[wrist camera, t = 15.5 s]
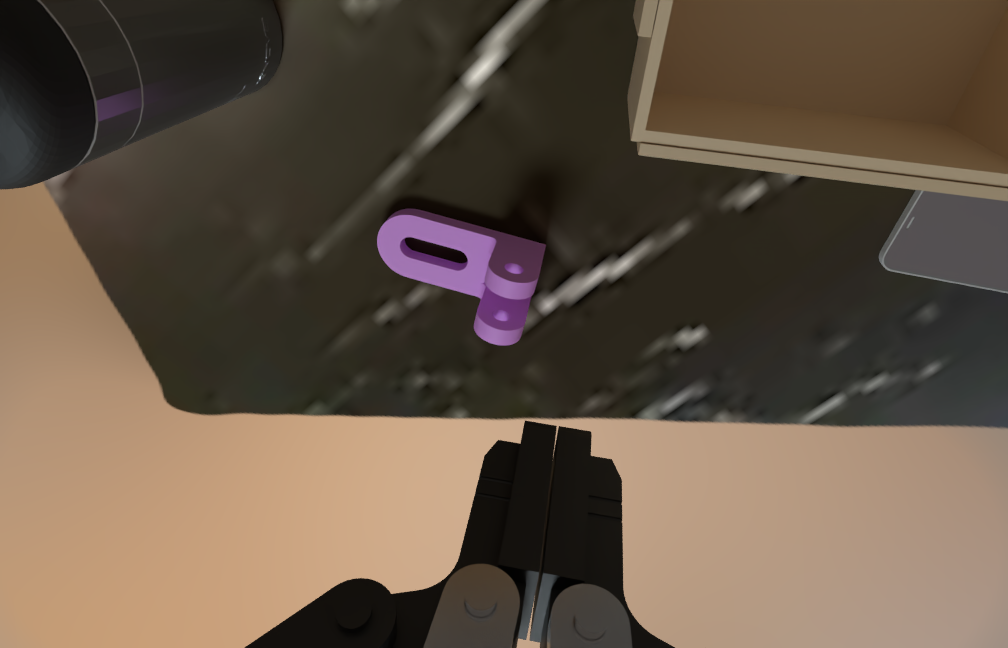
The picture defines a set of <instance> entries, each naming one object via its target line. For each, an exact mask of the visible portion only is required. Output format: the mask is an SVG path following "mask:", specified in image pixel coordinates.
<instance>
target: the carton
mask: <svg viewBox="0 0 1008 648" xmlns="http://www.w3.org/2000/svg"><path fill="white" fill-rule="evenodd" d="M633 18H634V22H635V26H636V30H637V34H638V36H639V38H638V43H637V48H636V54H635V59H634V64H633V69H632V75H631V80H630V85H629V90H628V96H627V99H628V111H629V123H630V135H631V141H637V149H638V155H642V156H650V157H658V158H666V159H674V160H682V161H690V162H698V163H706V164H714V165H722V166H730V167H738V168H746V169H754V170H762V171H770V172H778V173H786V174H794V175H802V176H810V177H818V178H826V179H834V180H842V181H850V182H858V183H866V184H874V185H882V186H890V187H898V188H906V189H914V190H922V191H930V192H938V193H946V194H954V195H962V196H970V197H978V198H986V199H994V200H1002V201H1008V0H636V3H635V8H634V14H633Z"/></svg>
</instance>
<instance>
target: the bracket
mask: <svg viewBox="0 0 1008 648" xmlns="http://www.w3.org/2000/svg"><path fill="white" fill-rule="evenodd" d="M406 237H412V238H416V239H420V240H423V241H427V242H431V243H434V244H438V245H441V246H445V247H449V248H452V249H456V250H459V251H461V252H463V253H464V254H465V255H466V257H467V259H468V261H467V262H466V263H456V262H453V261H449V260H446V259H442V258H438V257H435V256H431V255H428V254H424V253H420V252H417V251H413V250H411V249H410V248H408V246H407V245H406V243H405V238H406ZM377 245H378V250H379V253H380V255H381V257H382V259H383V260H384V262H385V263H386V264H387V265H388V266H389V267H390V268H391V269H392V270H393V271H395V272H396V273H398V274H400V275H402V276H405V277H408V278H412V279H415V280H419V281H423V282H426V283H430V284H433V285H437V286H441V287H444V288H448V289H451V290H455V291H459V292H462V293H466V294H469V295H473V296H477V297H479V298H481V301H480V304H479V307H478V310H477V314H476V318H475V322H474V330H475V332H476V333H477V335H478V336H479V337H480V338H482V339H483V340H485V341H487V342H489V343H492V344H496V345H511V344H514V343H516V342H518V341H519V339H520V338H521V335H522V331H523V328H524V325H525V321H526V317H527V312H528V308H529V304H530V300H531V296H532V295H533V294H534V291H535V288H536V284H537V281H538V278H539V274H540V270H541V265H542V261H543V256H544V252H545V247H546V244H542V243H538V242H535V241H531V240H527V239H524V238H520V237H517V236H513V235H509V234H506V233H502V232H498V231H495V230H491V229H488V228H484V227H480V226H477V225H473V224H469V223H466V222H462V221H459V220H455V219H451V218H448V217H444V216H440V215H437V214H433V213H430V212H426V211H422V210H418V209H403V210H399V211H397V212H395V213H394V214H392V215H391V216H390V217H389V218H388V219H387V220H386V222H385V223H384V224H383V225H382V227H381V229H380V230H379V233H378V238H377Z"/></svg>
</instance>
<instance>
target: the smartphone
mask: <svg viewBox="0 0 1008 648" xmlns="http://www.w3.org/2000/svg"><path fill="white" fill-rule="evenodd" d="M879 261H880V263H881V264H882V265H883V266H884V267H885V268H886V269H887V270H889V271H893V272H898V273H903V274H909V275H914V276H919V277H925V278H930V279H935V280H941V281H946V282H951V283H957V284H962V285H967V286H973V287H978V288H983V289H989V290H994V291H999V292H1004V293H1008V201H1002V200H994V199H986V198H978V197H970V196H962V195H954V194H946V193H938V192H930V191H922V190H916V191H915V193H914V194H913V196H912V198H911V200H910V201H909V203H908V205H907V206H906V208H905V210H904V212H903V213H902V215H901V217H900V218H899V220H898V222H897V224H896V225H895V227H894V229H893V230H892V232H891V234H890V236H889V237H888V239H887V241H886V242H885V244H884V246H883V248H882V249H881V251H880V254H879Z"/></svg>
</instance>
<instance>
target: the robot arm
mask: <svg viewBox="0 0 1008 648" xmlns="http://www.w3.org/2000/svg"><path fill="white" fill-rule="evenodd" d="M281 53H282V32H281V26H280V20H279V17H278V14H277V11H276V8H275V6H274V3H273V1H272V0H0V189H13V188H22V187H27V186H31V185H34V184H37V183H40V182H42V181H45V180H48V179H50V178H52V177H55V176H57V175H59V174H62V173H64V172H66V171H68V170H71V169H73V168H76V167H78V166H80V165H83V164H85V163H87V162H90V161H92V160H94V159H97V158H99V157H102V156H104V155H106V154H109V153H111V152H113V151H115V150H117V149H120V148H122V147H125V146H127V145H129V144H132V143H134V142H136V141H139V140H141V139H144V138H146V137H148V136H151V135H153V134H155V133H158V132H160V131H162V130H165V129H167V128H170V127H172V126H174V125H177V124H179V123H181V122H184V121H186V120H189V119H191V118H193V117H196V116H198V115H200V114H203V113H205V112H208V111H210V110H212V109H215V108H217V107H219V106H222V105H224V104H227V103H229V102H232V101H234V100H236V99H239V98H241V97H243V96H246V95H248V94H251V93H253V92H255V91H257V90H259V89H260V88H262V87H263V86H265V85H266V84H267V83H268V82H269V81H270V79H271V78H272V77H273V76H274V74H275V72H276V70H277V68H278V65H279V63H280V58H281ZM555 435H556V426H554V425H548V424H541V423H536V422H530V421H525V423H524V428H523V434H522V440H521V444H518V443H513V442H507V441H501V440H498V441H497V442H496V443H495V444H494V446H493V447H492V448H491V449H490V450H489V451H488V453H487V454H486V455H485V456H484V461H483V464H482V468H481V473H480V477H479V480H478V485H477V488H476V493H475V496H474V500H473V504H472V508H471V512H470V517H469V520H468V524H467V528H466V532H465V536H464V540H463V544H462V548H461V552H460V556H459V559H458V562H457V564H456V566H455V568H454V569H453V570H452V572H451V573H450V574H449V575H448V576H447V577H446V578H445V579H444V580H442V581H441V582H439V583H438V584H436V585H434V586H432V587H429V588H427V589H423V590H417V591H410V592H404V593H396V594H391V593H390V592H389V590H387V588H386V587H385V586H383V585H382V584H380V583H378V582H376V581H374V580H370V579H362V578H360V579H352V580H347V581H345V582H343V583H340V584H338V585H337V586H335V587H333V588H332V589H330V590H329V591H327V592H326V593H325V594H323V595H322V596H320V597H319V598H317V599H316V600H314V601H313V602H311V603H310V604H308V605H307V606H305V607H304V608H302V609H301V610H299V611H298V612H296V613H295V614H294V615H292V616H291V617H289V618H288V619H286V620H285V621H283V622H282V623H280V624H279V625H277V626H276V627H274V628H273V629H271V630H270V631H268V632H267V633H266V634H264V635H263V636H261V637H260V638H258V639H257V640H255V641H254V642H252V643H251V644H249V645H248V646H246V647H245V648H516V647H517V641H518V638H520V639H524V640H526V638H527V633H528V628H529V623H530V618H531V612H532V607H533V602H534V608H533V616H532V625H531V632H530V641H535V642H540V648H675V647H673V646H671V645H669V644H667V643H666V642H664V641H662V640H660V639H658V638H657V637H655V636H654V635H652V634H650V633H649V632H648V631H647V630H645V629H644V628H643V627H642V626H641V625H640V624H639V623H638V622H637V620H636V619H635V618H634V616H633V615H632V613H631V612H630V610H629V608H628V606H627V603H626V601H625V597H624V591H623V543H622V505H621V503H622V480H621V477H620V475H619V473H618V471H617V469H616V467H615V465H614V463H613V461H612V459H606V458H600V457H594V456H591V432H590V431H583V430H578V429H572V428H566V427H560V426H559V429H558V434H557V440H556V445H555V451H554V444H555ZM553 452H554V456H553ZM534 597H535V599H534Z"/></svg>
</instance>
